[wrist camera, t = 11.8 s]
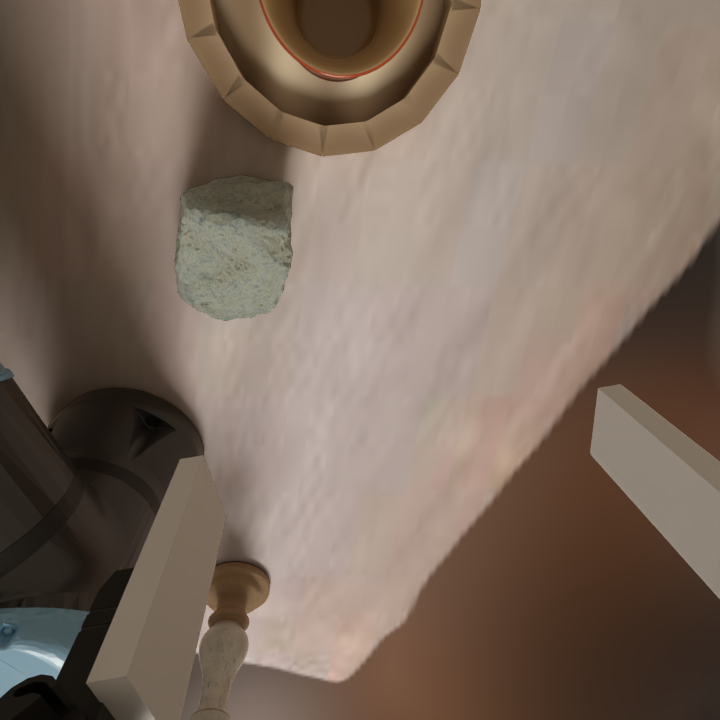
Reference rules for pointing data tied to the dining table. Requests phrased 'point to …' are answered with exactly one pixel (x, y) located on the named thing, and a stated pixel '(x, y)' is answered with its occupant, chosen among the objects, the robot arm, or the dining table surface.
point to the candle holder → (227, 633)
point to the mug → (342, 33)
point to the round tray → (321, 97)
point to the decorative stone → (234, 246)
